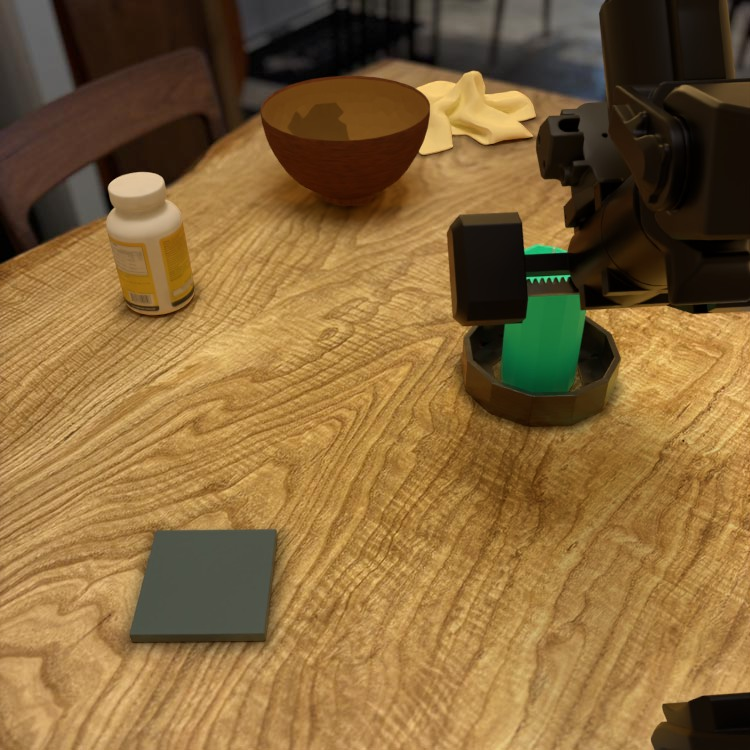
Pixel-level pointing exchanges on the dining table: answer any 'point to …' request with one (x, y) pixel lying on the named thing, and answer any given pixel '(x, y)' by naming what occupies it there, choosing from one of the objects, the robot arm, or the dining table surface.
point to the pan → (541, 406)
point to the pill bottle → (149, 245)
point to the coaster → (206, 586)
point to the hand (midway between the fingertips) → (572, 292)
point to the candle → (544, 340)
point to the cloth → (473, 113)
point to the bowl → (346, 134)
